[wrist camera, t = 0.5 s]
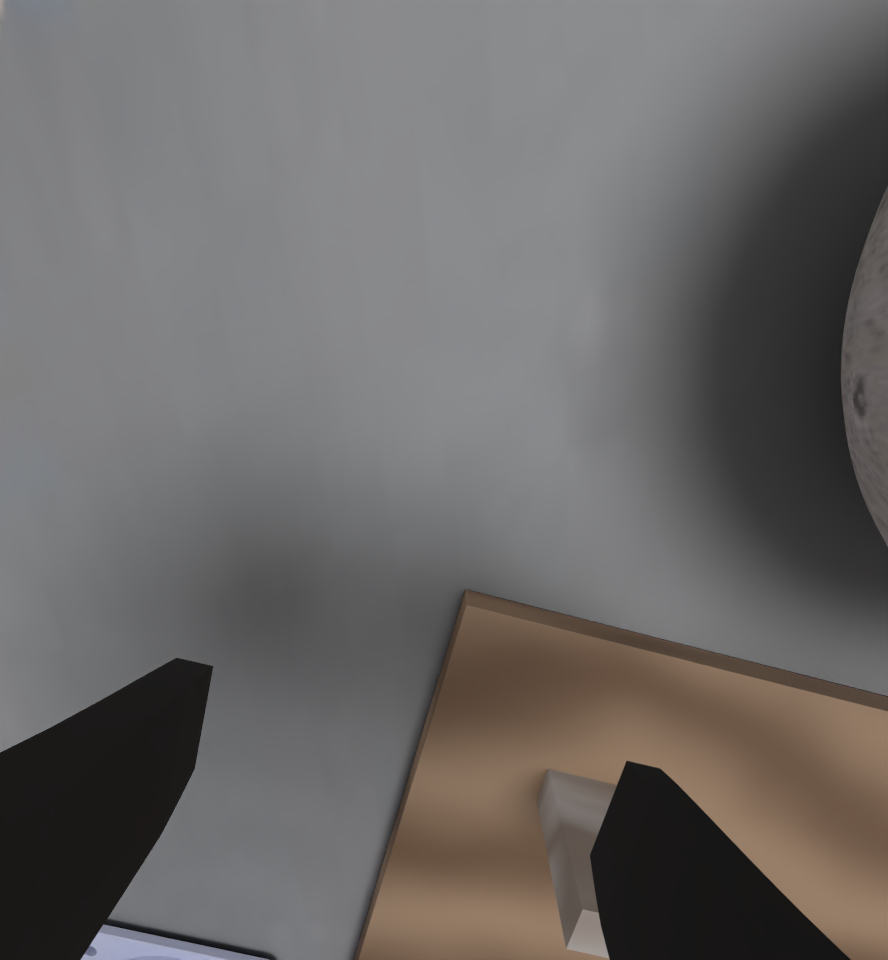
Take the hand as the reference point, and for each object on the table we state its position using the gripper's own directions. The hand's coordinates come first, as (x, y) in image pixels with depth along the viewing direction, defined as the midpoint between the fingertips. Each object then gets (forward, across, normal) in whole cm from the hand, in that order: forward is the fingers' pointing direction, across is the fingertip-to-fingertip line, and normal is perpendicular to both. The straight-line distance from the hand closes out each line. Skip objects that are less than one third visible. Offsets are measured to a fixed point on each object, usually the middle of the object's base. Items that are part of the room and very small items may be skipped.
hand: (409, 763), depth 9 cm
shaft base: (+10, -11, +11) cm, 19 cm away
